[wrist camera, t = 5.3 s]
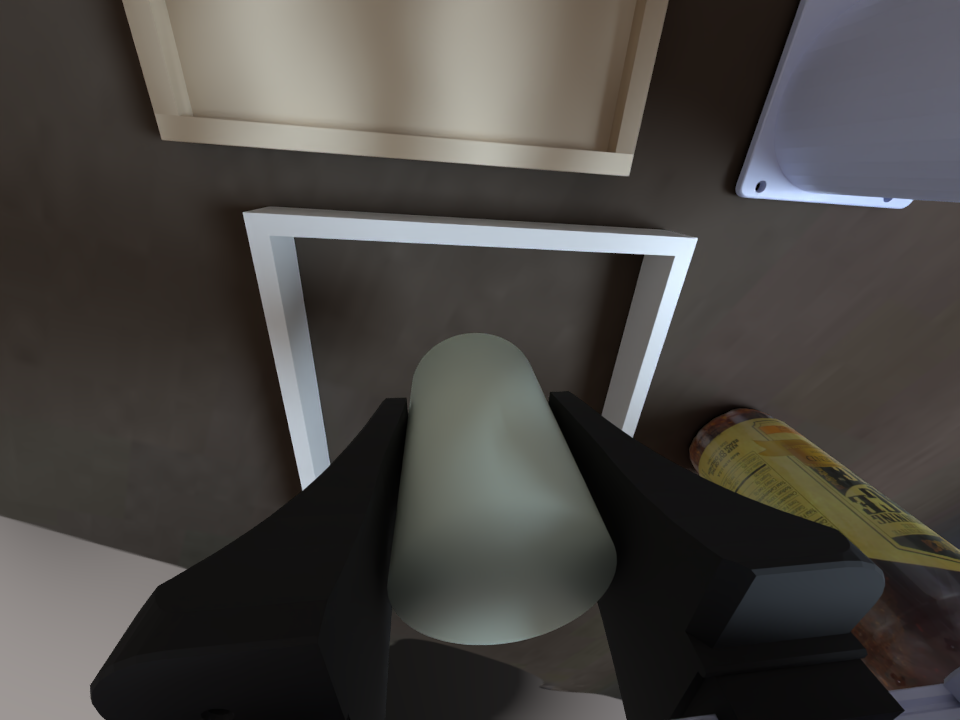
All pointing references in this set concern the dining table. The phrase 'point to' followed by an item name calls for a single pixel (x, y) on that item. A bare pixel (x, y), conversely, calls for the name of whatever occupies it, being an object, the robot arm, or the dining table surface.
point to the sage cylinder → (491, 504)
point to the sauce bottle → (866, 523)
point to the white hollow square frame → (280, 225)
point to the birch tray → (405, 77)
